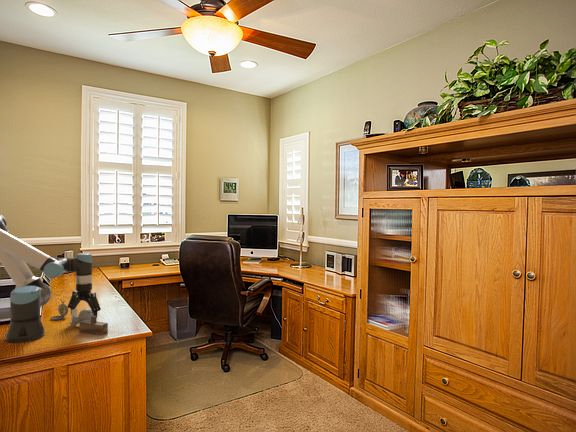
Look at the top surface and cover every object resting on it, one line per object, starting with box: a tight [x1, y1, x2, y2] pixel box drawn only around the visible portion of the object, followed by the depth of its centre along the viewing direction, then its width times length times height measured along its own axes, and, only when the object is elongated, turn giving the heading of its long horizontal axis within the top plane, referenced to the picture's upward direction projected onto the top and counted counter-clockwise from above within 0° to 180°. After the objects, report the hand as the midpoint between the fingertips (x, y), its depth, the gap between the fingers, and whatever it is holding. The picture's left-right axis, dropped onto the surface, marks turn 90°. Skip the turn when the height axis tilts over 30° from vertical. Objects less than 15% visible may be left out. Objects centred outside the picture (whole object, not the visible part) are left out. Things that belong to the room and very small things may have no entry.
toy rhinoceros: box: [68, 308, 92, 328], centre depth 198 cm, size 7×12×8 cm, turn 117°
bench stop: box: [79, 316, 109, 336], centre depth 187 cm, size 4×14×8 cm, turn 71°
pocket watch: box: [50, 300, 69, 321], centre depth 209 cm, size 8×8×10 cm
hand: (83, 322), depth 198 cm, fingers open, 13 cm apart
